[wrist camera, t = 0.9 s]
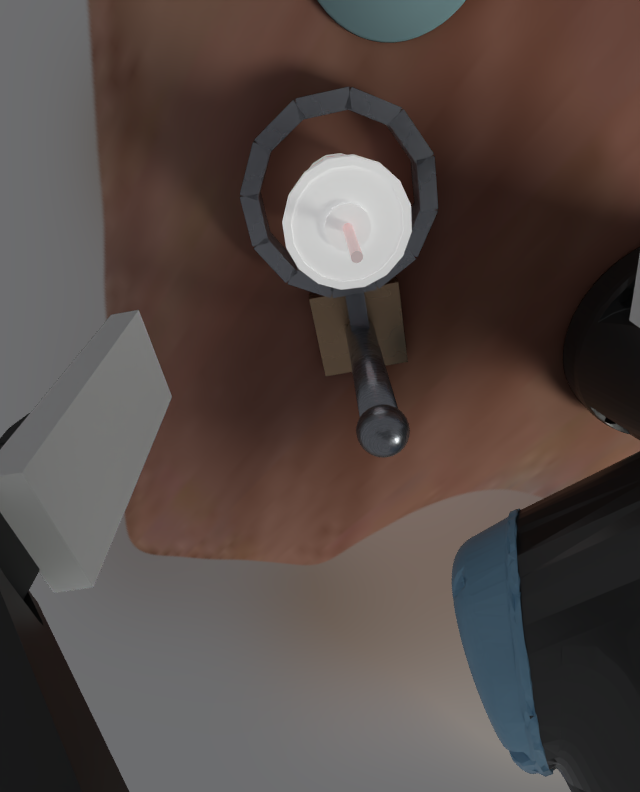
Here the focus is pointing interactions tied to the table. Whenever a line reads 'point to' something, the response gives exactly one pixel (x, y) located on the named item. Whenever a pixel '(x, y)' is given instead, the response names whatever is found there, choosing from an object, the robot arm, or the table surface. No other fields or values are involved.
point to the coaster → (390, 17)
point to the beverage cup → (347, 221)
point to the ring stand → (357, 307)
